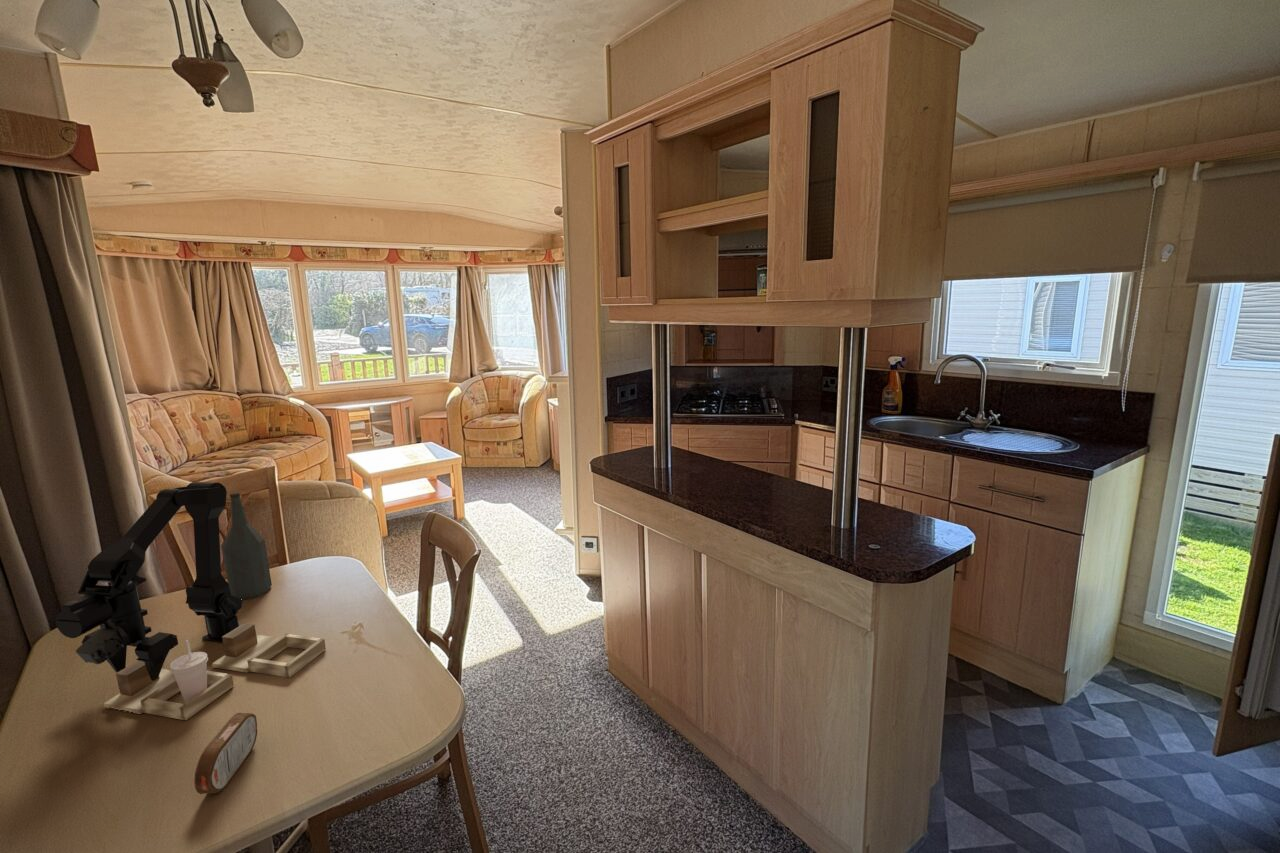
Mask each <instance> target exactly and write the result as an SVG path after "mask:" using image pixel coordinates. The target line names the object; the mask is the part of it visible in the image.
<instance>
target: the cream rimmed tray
mask: <svg viewBox="0 0 1280 853" xmlns="http://www.w3.org/2000/svg"><path fill="white" fill-rule="evenodd" d="M115 675H116V681H117V684H118V689H119V693H118V694H116V695H115V696H112V698H110V699H108V700H107V701H105V702H103V707H104V706H109V707H114V708H118V709H122V710H126V711H129V712H128V713H131V712H133V713H132V714H138V715H142V714H147V715H154V716H159V717H160V716H161V717H165V718H171V719H177V720H180V721H181V720H183V721H188V720H189V719H190V718H192V717H193V716H195V714H197V713H199V712H200V711H202V709H204V708H205V707H207V706H208V705H209V704H211V703H212V702H214V701H215V700H217V699H218V698H219V697H221V696H222V695H224V694H225V693H226V692H227V691H229V690H230V689H232V688H233V687H234V686H235V684H234V678H233V674H230V673H225V672H220V671H219V672H218V671H212V670H207V689H206V690H204V691H203V692H201V693H200V694H198V695H197V696H196V697H194V698H193V699H191V700H190V701H188V702H187V703H185V702H184V703H179V702H178V703H177V702H175V701H169V699H170V698H172V697H173V696H175V695H177V694H178V693H179V692H181V691H180V689H179V686H178V684H177V681H176V679H175V677H174V674H173V673H171V672H170V669H166V668H162V669H161V672H160V674H159V677H158V679H156V680H154V681H152V680H151V678H150V676H149V673H148V671H147V668H146V665H145V663H144V662H143V661H139V660H136V661H135V662H132V663H131V664H130V665H128V666H126V667H125V668H124V669H123V670H121V671H119V672H117V673H116V672H115ZM126 711H125V712H126Z"/></svg>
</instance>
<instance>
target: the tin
mask: <svg viewBox="0 0 1280 853" xmlns="http://www.w3.org/2000/svg"><path fill="white" fill-rule="evenodd" d="M257 736H258V721H257V716H256V715H255V714H254V713H251V712H249V713H247V712H244V713H243V712H236V713H235V714H233V715H232V716H231V717H230V718H229V719H228V720H227V722H226V723H225V724H224V725H223V726H222V728H221V729H220V730H219V731H218V732H217V734H216V735H214V737H213V738H212V739H211V740H210V741H209V742H208V743H207V745H206V746H205V748H204V749H203V751H202V753H201V754H200V756H199V759H198V761H197V764H196V768H195V772H194V782H193V783H194V788H195V791H196V793H198V794H199V795H204V794H216V793H220V792H221V791H222V790H224V789H225V787H226V786H228V784H229V783H230V781H231V780H232V779H233V777H234V776H235V774H236V773H237V772H238V771H239V770H240V768H241V767H242V766H243V764H244V762H245V761H246V760H247V758H249V756H250V754H251V753H252V751H253V748H254V747H255V744H256V741H257Z"/></svg>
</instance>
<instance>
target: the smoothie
mask: <svg viewBox="0 0 1280 853" xmlns="http://www.w3.org/2000/svg"><path fill="white" fill-rule="evenodd" d="M184 642H185V646H186V650H187V653H186V654H184V655H181V656H179V657H177V658H176V659H174V660H173V661H171V663H170V664H169V670H170V672H171V673H173V674H174V677H175V679H176V681H177V684H178V686H179V689H180V691H179V692H180V693H181V695H182V699H183V701H184V704H185V703H187V702H188V701H190V700H191V699H193V698H194V697H196V696H197V695H198V694H200V693H201V692H203V691H204V690H206V689H207V688H208V685H207V671H208V666H207V663H208V661H209V657H208V653H206V652H204V651H194V652H192V649H191V644H190V639H185V641H184Z"/></svg>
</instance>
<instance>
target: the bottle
mask: <svg viewBox="0 0 1280 853" xmlns="http://www.w3.org/2000/svg"><path fill="white" fill-rule="evenodd" d="M229 498H230V510H231V511H230V514H231V527H230V529H229V530H228V532H227V533H226V536H225V539H224V540H223V541H222V544H220V550H221V552H222V558H223V559H222V560H223V564H224V570H225V576H226V581H227V583H228V584H229V587H230V592H231V595H232V596H234V597H237V598H239V599H242V600H250V598H251V599H254V598H253V597H255V598H257V596H258V597H260V596H261V594H262V595H263V593H264V594H266V593H267V592H268V591H269V590H270V589H271V587H272V585H273V584H272V577H271V572H270V564H269V559H268V554H267V547H266V540H265V538H264V537H263V536H262V534H260V533H259V532H258V531H257V530H256V529H255V528H254V527H253V526H252V525H250V524H249V522H248V519H247V515H246V512H245V509H244V507H243V503H242V500H241V493H240V492H239V491H234V492H231V493H230V494H229ZM269 588H270V589H269ZM265 592H266V593H265ZM259 595H260V596H259Z"/></svg>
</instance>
